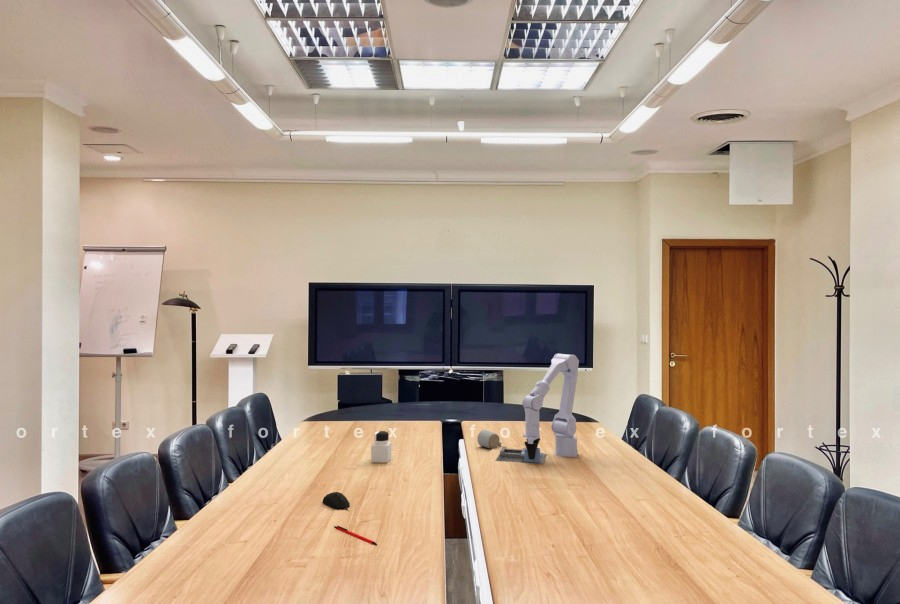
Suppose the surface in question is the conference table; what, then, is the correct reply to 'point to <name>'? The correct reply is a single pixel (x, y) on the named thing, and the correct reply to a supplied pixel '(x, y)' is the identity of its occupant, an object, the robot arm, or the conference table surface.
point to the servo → (537, 456)
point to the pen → (355, 535)
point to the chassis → (515, 456)
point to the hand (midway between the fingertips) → (532, 457)
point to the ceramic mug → (488, 439)
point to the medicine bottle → (381, 447)
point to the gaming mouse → (336, 501)
